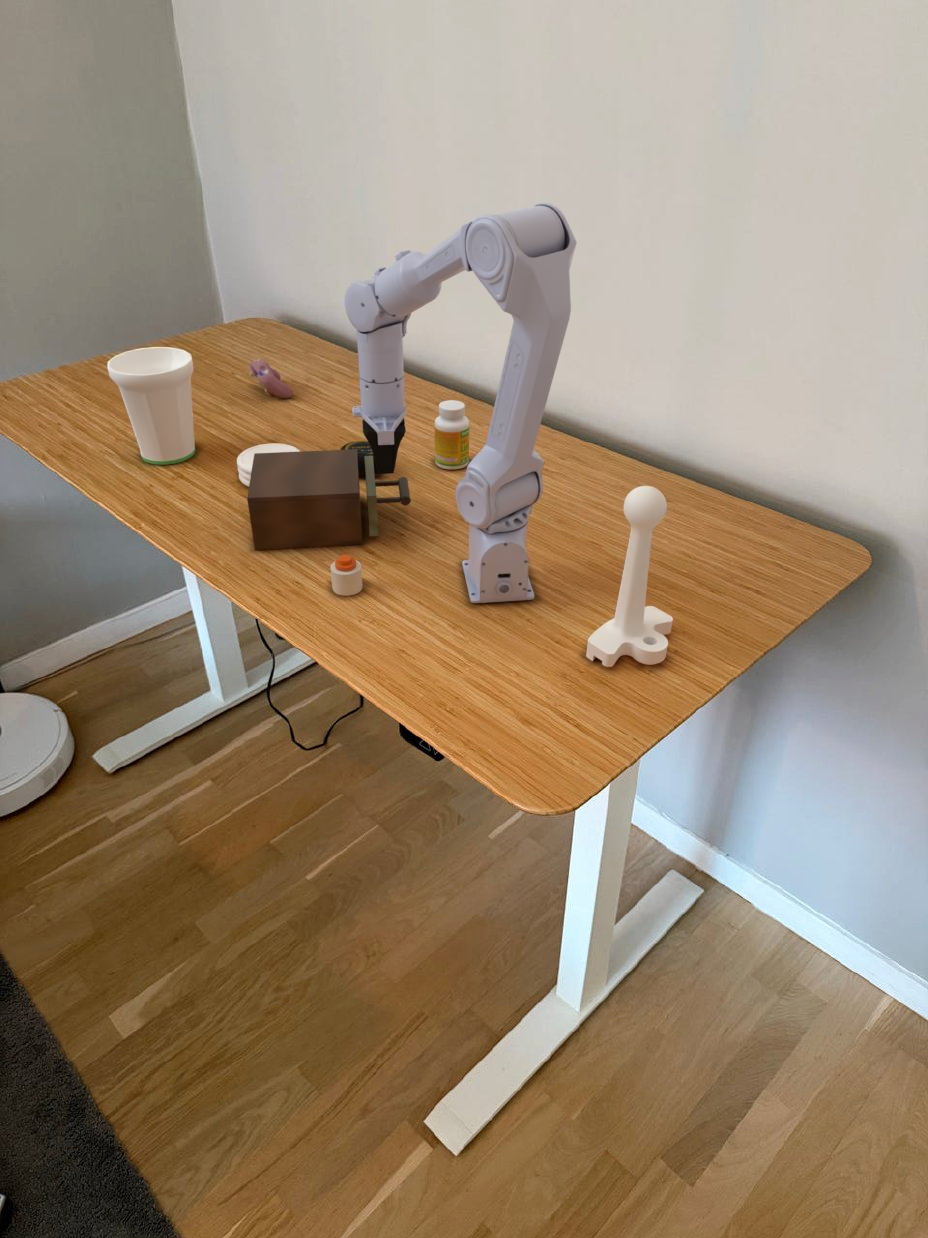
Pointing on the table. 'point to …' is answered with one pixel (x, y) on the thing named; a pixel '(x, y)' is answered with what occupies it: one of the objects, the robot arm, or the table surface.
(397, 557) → the table surface
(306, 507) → the cabinet
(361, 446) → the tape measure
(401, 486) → the drawer
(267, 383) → the pink animal figurine
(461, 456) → the supplement bottle
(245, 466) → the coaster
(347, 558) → the glue bottle
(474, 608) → the table surface
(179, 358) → the cup
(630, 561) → the joystick
